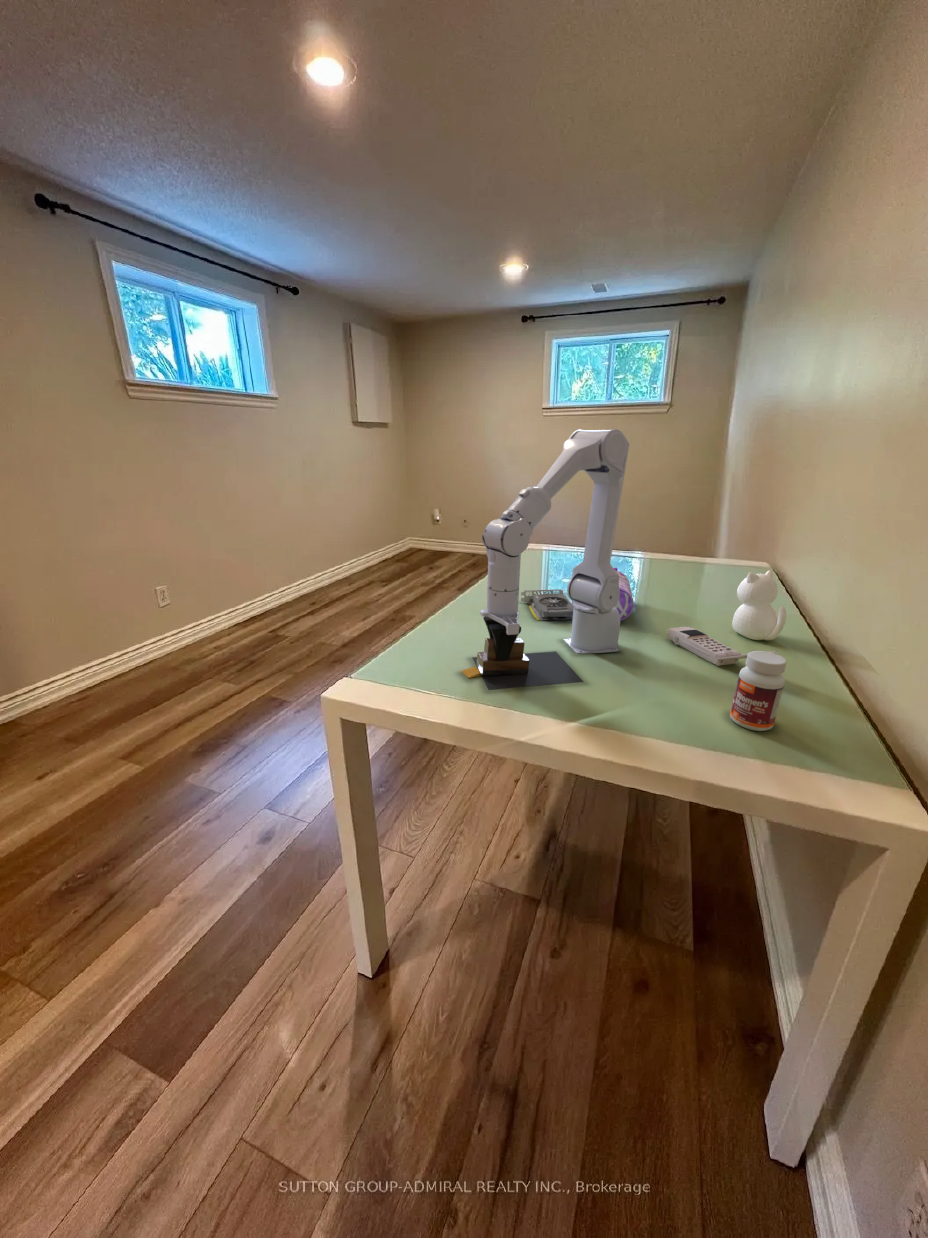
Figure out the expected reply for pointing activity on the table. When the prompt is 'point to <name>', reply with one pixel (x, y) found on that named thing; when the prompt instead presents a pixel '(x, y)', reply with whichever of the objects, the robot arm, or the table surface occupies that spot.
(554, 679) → the mat
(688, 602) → the table surface
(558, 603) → the graphics card
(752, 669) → the pill bottle
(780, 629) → the cat figurine
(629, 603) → the pencil case
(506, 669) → the brown stepped block
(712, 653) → the mobile phone
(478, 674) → the mustard square tile
